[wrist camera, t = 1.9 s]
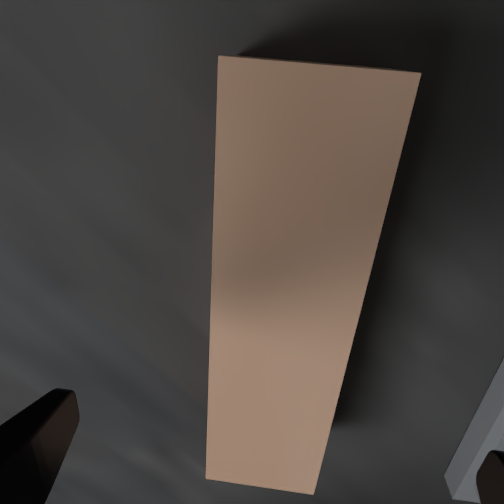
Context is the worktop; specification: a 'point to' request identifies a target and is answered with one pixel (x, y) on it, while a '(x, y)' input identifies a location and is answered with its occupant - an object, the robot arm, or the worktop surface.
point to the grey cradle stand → (478, 442)
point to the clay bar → (293, 253)
